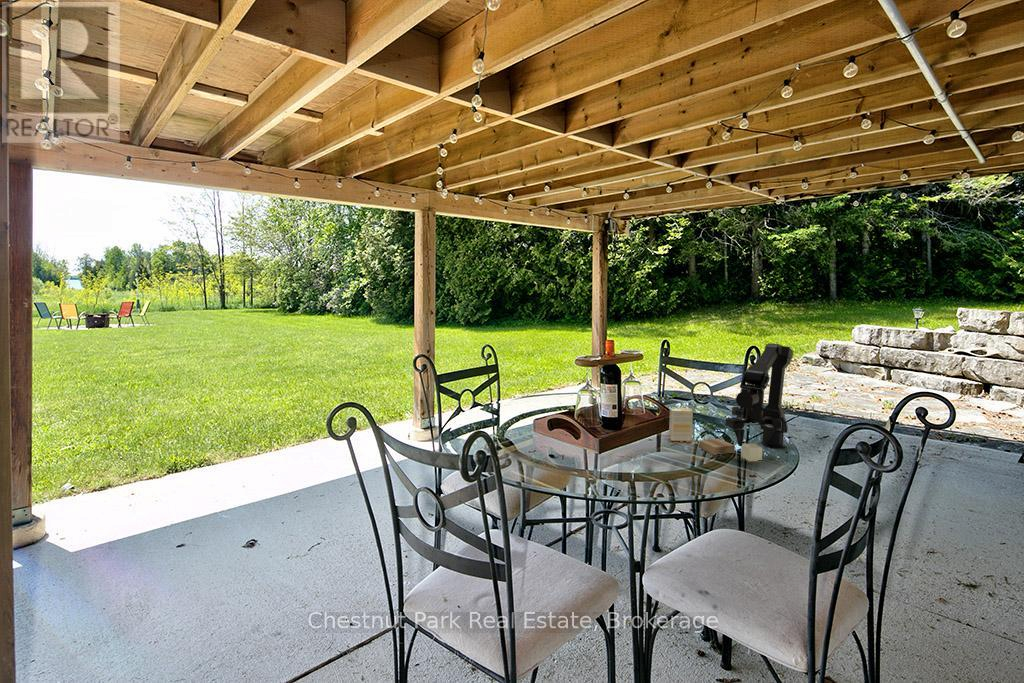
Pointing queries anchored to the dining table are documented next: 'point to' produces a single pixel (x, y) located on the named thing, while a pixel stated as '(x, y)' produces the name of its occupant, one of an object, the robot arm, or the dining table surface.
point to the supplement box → (680, 424)
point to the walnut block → (716, 446)
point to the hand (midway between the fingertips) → (752, 445)
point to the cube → (751, 452)
